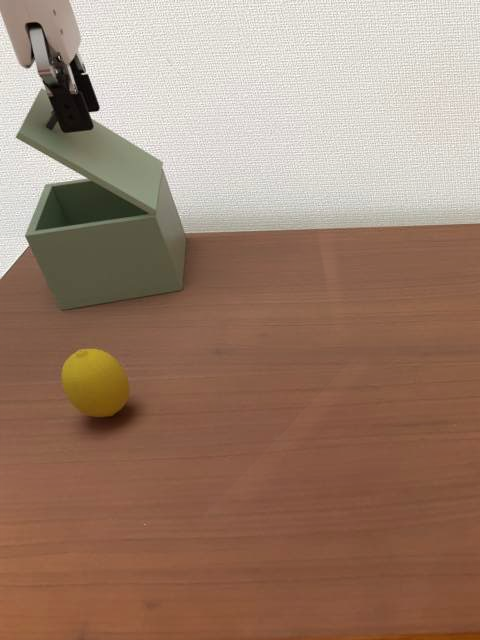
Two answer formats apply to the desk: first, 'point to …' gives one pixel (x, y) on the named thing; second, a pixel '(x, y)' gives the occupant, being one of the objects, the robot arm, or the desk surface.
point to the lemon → (95, 382)
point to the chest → (105, 244)
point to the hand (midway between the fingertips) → (81, 119)
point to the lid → (95, 155)
